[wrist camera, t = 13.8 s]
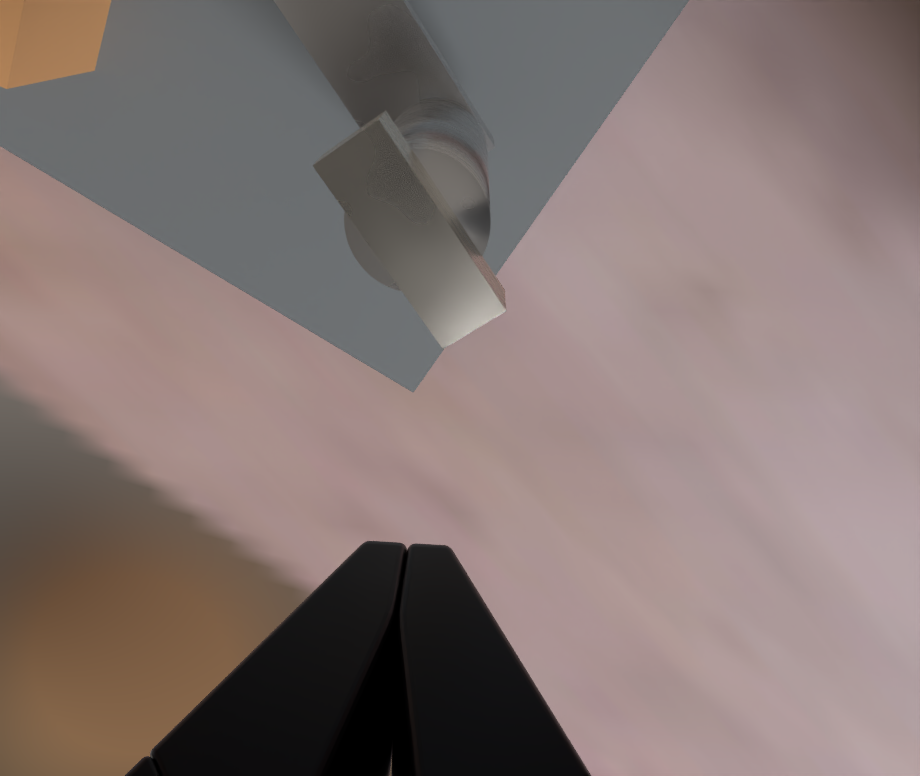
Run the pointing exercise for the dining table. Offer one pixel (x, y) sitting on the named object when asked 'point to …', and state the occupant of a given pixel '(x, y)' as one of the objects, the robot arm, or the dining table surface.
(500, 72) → the crank bed
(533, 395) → the dining table surface
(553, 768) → the robot arm
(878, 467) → the dining table surface
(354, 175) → the crank
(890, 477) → the dining table surface
